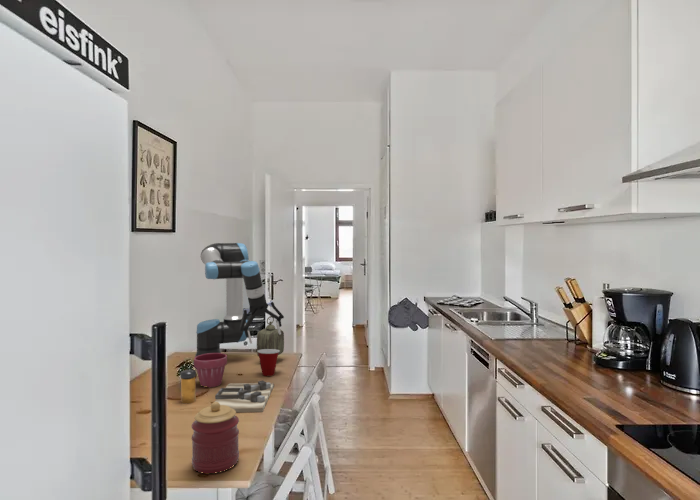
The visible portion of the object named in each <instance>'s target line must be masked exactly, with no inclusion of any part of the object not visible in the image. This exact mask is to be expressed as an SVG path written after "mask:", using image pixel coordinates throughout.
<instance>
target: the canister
mask: <svg viewBox="0 0 700 500" xmlns="http://www.w3.org/2000/svg"><path fill="white" fill-rule="evenodd" d="M236 414H237V413H236V411H235V410H234V409H232V408H230V407H229V406H226V405H220V404H219V402H215V401H213V402H212V403H211V405H209V406H206V407H204V408H202V409H201V410H200V411H198V412H197V413H196V414H195V415H194V419H195V420H193V422H192V423H191V429H192V431H193V434H192V435H191V441H192V443H191V445H192V448H191V449H192V450H191V452H192V454H191V455H192V457H191V465H192V468H194V469H195V470H196V471H198V472H203V473H215V472H220V471H224V470H226V469H229V468H230V467H232V466H233V465H235V464H236V463H237V464H238V462H239V458H240V450H239V434H240V430H239V428H238V424H239V422H240V419H239V417H238V416H237V415H236ZM237 461H238V462H237ZM237 464H236V465H237ZM236 465H235V466H236ZM194 469H193V470H194ZM195 470H194V471H195ZM229 470H230V469H229ZM196 471H195V472H196ZM198 472H197V473H198ZM224 472H225V471H224Z"/></svg>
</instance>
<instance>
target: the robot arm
mask: <svg viewBox="0 0 700 500" xmlns="http://www.w3.org/2000/svg"><path fill="white" fill-rule="evenodd" d="M200 260H201V261H202V263H203V264H204V276H205V278H206V279H207V280H223V279H225V280H226V283H225V284H226V285H225V286H226V287H225V288H226V293H225V294H226V299H225V300H226V301H225V302H226V313H225V316H224V317H223V321H220V319H218V318H213V319H207V320H204V321H201V322H199V323H197V325H196V332H195V333H196V352H195V356H194V358H195V357H196V356H199V355H202V354H207V353H222V352H221V350H220V347H221V346H220V345H221V344H233V343H241V342H245V341H246V340H247V339H248V341H249V343H250V345H252V344H253V341H252V336H251V333H250V329H249V328H250V326H251V324H252V322H253V321H254V319H255V318H256V316H257V317H259V316H261V315H265V314H268V315H269V317H270V316H272V317H273V318H274V320H275V324H276V329H277V330H278V333H279V335H280V334H281V331H280V329H281V328H280V327H282V320H283V319H284V318H285V317H284V315H283V313H282V312H281V311H280V310H279V309H278V308H277V307H276V306H275V302H274V301H273V300H270V301H269V302H267V299H266V295H265V291H264V286H263V281H262V276H261V272H260V267H259V263H258V262H257V261H256V260H249V252H248V248H247V246H246V244H244V243H242V242H227V243H226V242H222V243H219V242H216V243H212V244H210V245H207V246H204V248H203V249H202V251H201V252H200ZM243 282H244V284H243ZM243 285H244V286H245V287H244V288H245V291H246V296H247V300H248V304H249V305H248V306H249V307H248V308H243V307H244V306H243V302H244V300H243V299H244V297H243V293H244V291H243V289H244V288H243ZM268 307H270V308H272V309H273V310H274V311H275V313H277V314H278V315H276V314H275V313H273V312H272V311H270V310H269V309H268ZM249 312H250V315H249V317H248V319H247V316H248V314H249ZM272 317H271V318H272ZM273 318H272V319H273ZM192 363H193V364H194V360H193V361H192ZM193 364H192V365H193Z"/></svg>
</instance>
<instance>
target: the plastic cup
mask: <svg viewBox="0 0 700 500" xmlns="http://www.w3.org/2000/svg"><path fill="white" fill-rule="evenodd" d="M257 352H258V354H259V357H258V358H259V364H260V369H261V374H262V376H263V377H272V376H274V375H275V373H276V367H277V363H278V357H279V355H278V354H279V352H280V351H279V350H276V349H262V350H258V351H257V350H256V353H257Z"/></svg>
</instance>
